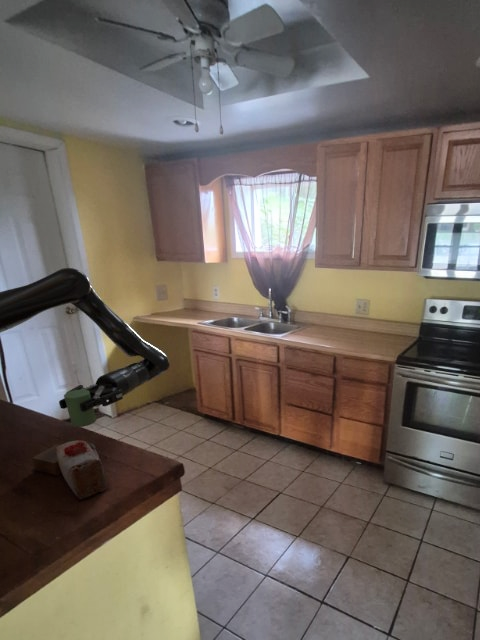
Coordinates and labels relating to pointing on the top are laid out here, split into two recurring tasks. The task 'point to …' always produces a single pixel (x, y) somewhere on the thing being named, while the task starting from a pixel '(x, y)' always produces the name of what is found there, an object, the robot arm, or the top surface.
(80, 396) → the green tin
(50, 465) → the walnut block
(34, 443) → the top surface
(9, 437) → the top surface
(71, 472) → the food item
